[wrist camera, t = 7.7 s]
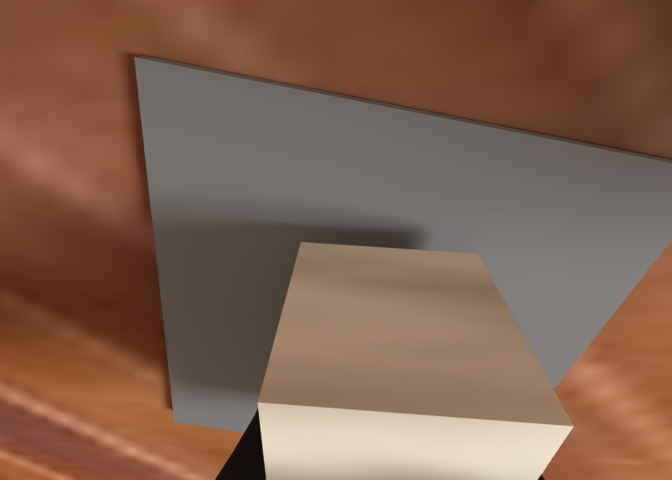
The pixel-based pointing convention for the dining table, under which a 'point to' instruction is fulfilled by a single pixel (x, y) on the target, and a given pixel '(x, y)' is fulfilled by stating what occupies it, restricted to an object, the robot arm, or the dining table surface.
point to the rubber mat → (371, 217)
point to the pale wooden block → (403, 373)
